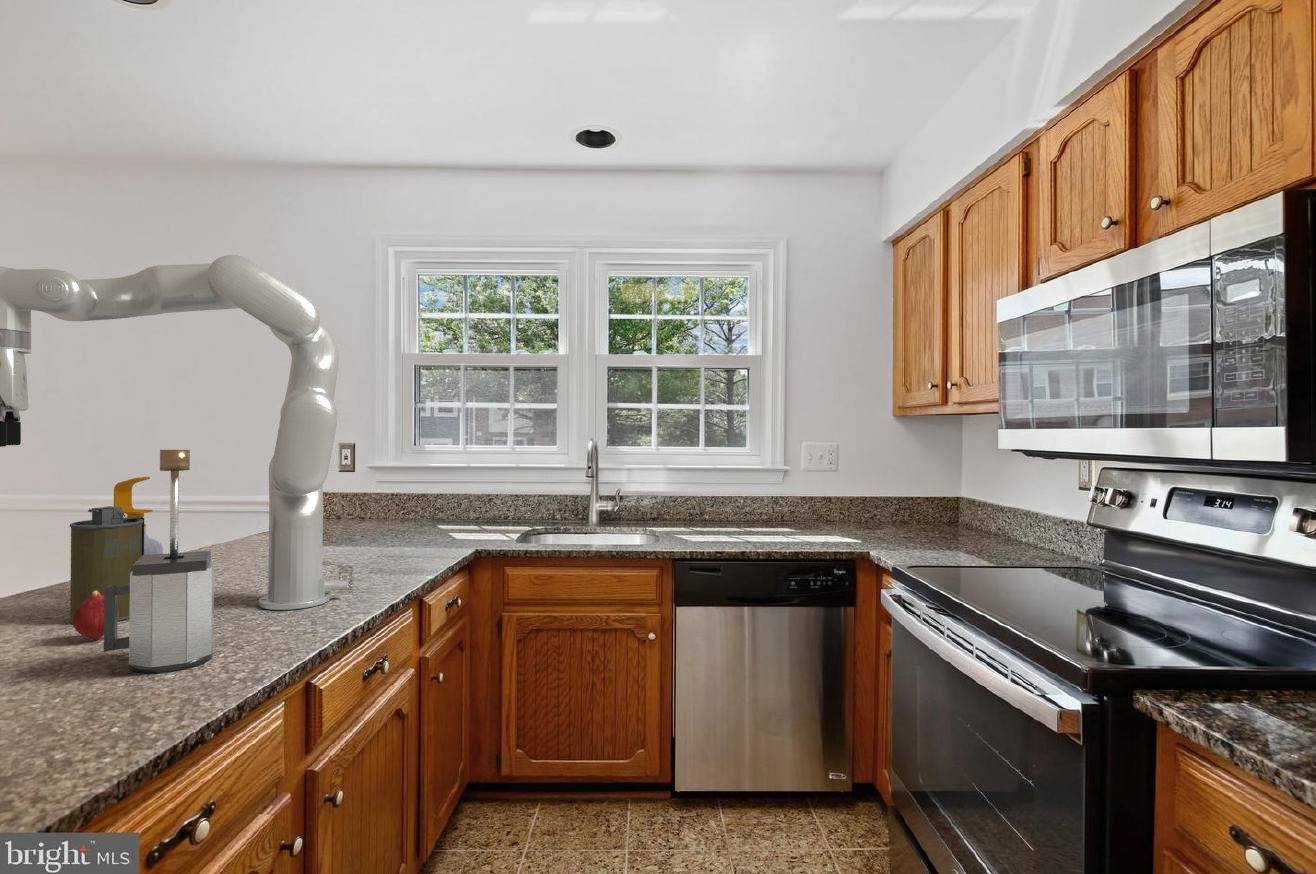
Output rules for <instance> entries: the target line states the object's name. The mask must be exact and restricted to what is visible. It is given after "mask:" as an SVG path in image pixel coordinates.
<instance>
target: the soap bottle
mask: <svg viewBox="0 0 1316 874" xmlns="http://www.w3.org/2000/svg"><path fill="white" fill-rule="evenodd" d="M150 479H151V477H150V476H139V477H134V478H129V479H126V480H124V481H119V482H117V483H116V484H115V485H114V487H113V507H121V508H122V510H123V513H124V515H126V518H127V517H144V518H145V514H146V513H147V514H149V513H153V509H147V508H146V509H140V508H139V509H138V508H134V507H133V503H132V502H133V499H132V498H133V493H132V492H133V491H132V490H133V486H134V485H135V484H137V483H140V482H144V481H147V480H150ZM136 519H137V518H136ZM146 525H147V524H146V523H144V555H153V554H164V547H163V545H162V542H159V541H158V540H156V539H154V538H152V537H150V536H148V535H147V526H146Z"/></svg>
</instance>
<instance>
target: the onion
mask: <svg viewBox="0 0 1316 874" xmlns="http://www.w3.org/2000/svg"><path fill="white" fill-rule="evenodd" d="M118 618H119V611H118V614H117V622H119V621H118ZM72 623H73V624H72ZM72 623H71V624H72V626H73V628H74V629H75V631H76V632H77V633H78V634H80V635H81V636H83V637H85V638H88V639H89V640H91V641H98V640H99V639H101V638H102V637H104V597H103V596H102V595H101V594H100V593H99V592H98V591H93V592H92V595H91V597H90V598H89V599H87V600H86V601H84V602H83V603H81V604H80V605H79V606H78V607H77V609H76V610H75V612H74V614H73V616H72Z"/></svg>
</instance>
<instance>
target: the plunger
mask: <svg viewBox="0 0 1316 874" xmlns="http://www.w3.org/2000/svg"><path fill="white" fill-rule="evenodd" d="M190 451H191V450H190V449H159V471H161V472H163V471H164V472H170V492H169V493H170V496H169V497H170V498H169V500H170V501H169V502H170V504H169V505H170V506H169V515H170V516H169V553H170V559H178V553H179V507H180V506H179V502H180V501H179V499H180V492H179V491H180V489H179V488H180V485H179V484H180V471H181V472H183V471H185V472H186V471H190V469H191V467H190V466H191V465H190V461H191V459H190V455H191V452H190Z"/></svg>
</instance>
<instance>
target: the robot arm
mask: <svg viewBox="0 0 1316 874" xmlns="http://www.w3.org/2000/svg"><path fill="white" fill-rule="evenodd" d="M229 309H230V310H232V309H233V310H234V309H240V310H242V311H244V313H247V315H250V316H252V318H255V319H256V320H257V321H260V323H263V324H264V325H265V326H267V327H269V329H270V332H271V333H272V335H274V336H275V338H277V339H278V340H279V341H281V342H283V344H285V345H286V346H287V347H288V350H289V351H290V355H291V362H290V368H289V377H288V383H287V388H286V393H285V396H284V400H283V403H282V405H281V407H280V413H279V415H280V420H279V424H278V425H279V426H278V430H277V437H276V441H275V447H274V453H273V455H272V457H271V459H270V462H269V464H268V496H269V497H268V499H269V502H268V503H269V504H268V511H269V512H268V559H267V560H268V564H267V565H268V567H267V568H268V571H267V573H268V579H267V594H266V595H265V596H262V597H260V598H259V599H258V606H259V607H260V608H261V609H265V610H272V611H273V610H274V611H275V610H276V611H282V610H283V611H285V610H288V611H289V610H297V609H306V608H311V607H312V608H313V607H316V606H320V605H323V604H326V603H327V602H329V601H330V600H331V593H330V592H331V591H346V590H348V579H342V580H340V579H332V580H330V579H325V576H324V574H323V547H324V546H323V544H324V543H323V541H324V538H323V535H324V529H323V528H324V527H323V526H324V483H325V481H326V479H327V478H328V477H327V476H328V473H329V468H330V464H331V459H332V455H333V454H332V453H333V448H334V442H335V437H336V433H337V432H336V431H337V425H338V409H337V406H336V404H335V402H334V399H335V393H336V386H337V379H338V371H339V370H338V369H339V363H340V362H339V352H338V351H339V350H338V346H337V344H336V341H335V339H334V337H333V335H332V333H331V332H330V330H329V329H328V328H327V326H326V325H324V324H323V322H322V321H321V318H320V313H319V309H318V308H317V307H316V305H315V303H313V302H312V301H311V299H309V298H308V297H306V295H304V294H302V293H301V292H299V291H298V290H296V289H295V288H293V287H292V286H290V285H288V283H285V282H284V281H283V280H281V279H279V278H278V277H276V276H275V275H273V274H272V273H270V272H269V271H268V270H266V269H264V268H263V267H261V266H260V265H258V263H255V262H254V261H252V260H250V259H249V258H246V257H245V256H240V255H235V254H227V255H222V256H219V257H217V258H216V259H214V260H213V261H212V263H196V264H195V263H194V264H193V263H190V264H186V263H185V264H158V265H153V266H149V267H146V268H144V269H142V270H140V271H139V272H137V273H133V274H131V275H126V276H120V277H113V278H112V277H111V278H96V279H95V278H94V279H79V278H77V277H76V276H75V275H73V274H72V273H69V272H67V271H66V270H61V269H54V268H53V269H52V268H37V269H36V268H33V269H31V268H30V269H27V268H26V269H25V268H23V269H22V268H20V269H19V268H17V269H16V268H12V267H6V266H1V265H0V448H5V447H7V446H19V445H21V444H22V434H21V433H22V428H21V427H22V425H21V423H22V422H21V415H20V412H25V411H27V410H28V409H29V395H28V394H29V393H28V390H29V389H28V377H27V376H28V375H27V373H28V372H27V365H26V358H25V357H26V356H25V355H27V354H32V311H37V312H42V313H44V314H47V315H50V316H51V317H54V318H55V319H58V320H62V321H65V322H93V321H105V320H106V321H107V320H117V319H118V320H120V319H128V318H137V317H145V316H156V315H163V314H171V313H186V312H200V311H214V310H215V311H217V310H229Z"/></svg>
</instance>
